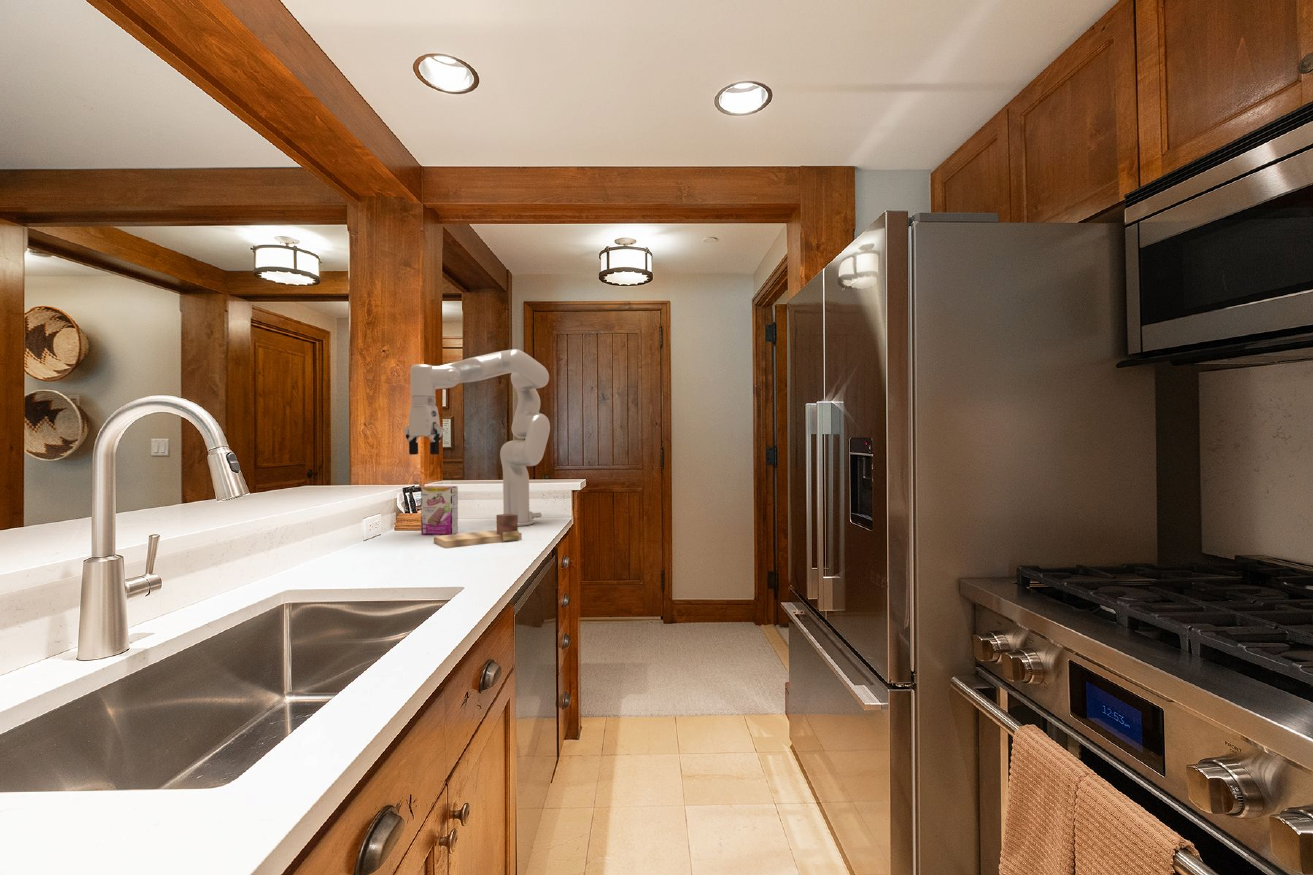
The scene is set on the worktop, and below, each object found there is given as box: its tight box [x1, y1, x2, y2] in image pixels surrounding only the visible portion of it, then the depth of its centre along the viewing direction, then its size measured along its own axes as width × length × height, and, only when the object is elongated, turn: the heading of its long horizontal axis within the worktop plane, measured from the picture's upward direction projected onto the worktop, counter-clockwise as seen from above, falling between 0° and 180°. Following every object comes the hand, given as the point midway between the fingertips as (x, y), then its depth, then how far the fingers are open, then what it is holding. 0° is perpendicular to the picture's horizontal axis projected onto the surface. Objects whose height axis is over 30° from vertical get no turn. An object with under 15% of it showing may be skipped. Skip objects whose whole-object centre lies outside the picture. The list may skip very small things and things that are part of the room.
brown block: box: [496, 513, 520, 542], centre depth 194 cm, size 5×6×8 cm
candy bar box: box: [420, 485, 459, 536], centre depth 208 cm, size 11×5×16 cm, turn 84°
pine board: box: [433, 529, 523, 549], centre depth 193 cm, size 24×12×2 cm, turn 126°
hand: (424, 454), depth 200 cm, fingers open, 9 cm apart
